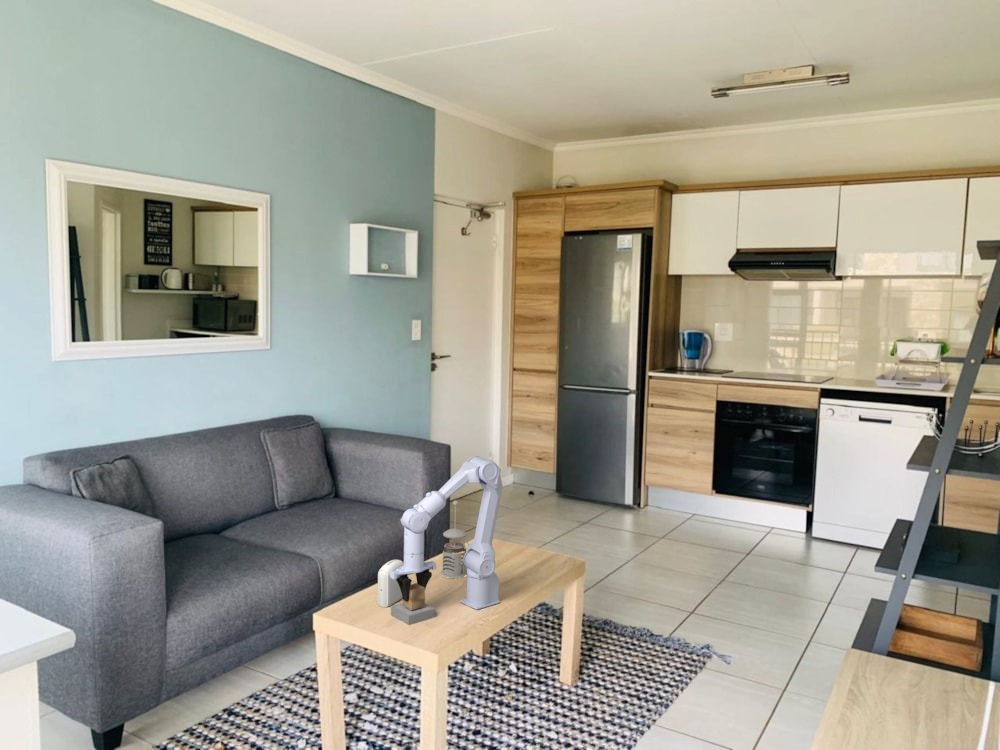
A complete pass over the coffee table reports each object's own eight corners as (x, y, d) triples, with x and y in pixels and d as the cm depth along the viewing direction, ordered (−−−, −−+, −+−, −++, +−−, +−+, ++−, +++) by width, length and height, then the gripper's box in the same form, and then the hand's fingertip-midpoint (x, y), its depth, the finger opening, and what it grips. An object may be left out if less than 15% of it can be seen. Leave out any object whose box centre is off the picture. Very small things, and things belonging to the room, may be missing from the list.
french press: (455, 567, 255) (456, 495, 253) (478, 575, 247) (480, 501, 245) (433, 573, 248) (434, 500, 246) (456, 582, 240) (458, 506, 238)
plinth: (416, 607, 219) (417, 599, 219) (434, 617, 212) (435, 608, 212) (390, 614, 213) (391, 606, 213) (408, 625, 206) (408, 616, 206)
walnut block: (415, 601, 215) (415, 583, 215) (424, 606, 212) (424, 587, 211) (402, 605, 212) (402, 586, 212) (411, 610, 209) (411, 591, 208)
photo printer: (387, 608, 217) (388, 567, 216) (375, 606, 219) (375, 565, 218) (406, 597, 227) (406, 557, 226) (394, 594, 228) (394, 555, 227)
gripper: (426, 543, 219) (425, 588, 220) (384, 552, 209) (383, 599, 210) (440, 549, 213) (440, 595, 214) (398, 559, 204) (397, 607, 205)
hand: (413, 598), depth 212 cm, fingers closed on walnut block, 4 cm apart
